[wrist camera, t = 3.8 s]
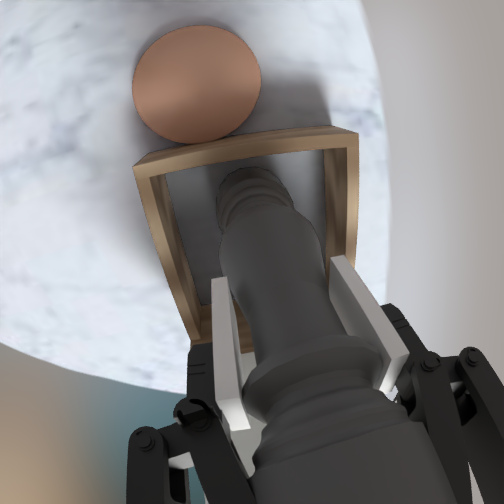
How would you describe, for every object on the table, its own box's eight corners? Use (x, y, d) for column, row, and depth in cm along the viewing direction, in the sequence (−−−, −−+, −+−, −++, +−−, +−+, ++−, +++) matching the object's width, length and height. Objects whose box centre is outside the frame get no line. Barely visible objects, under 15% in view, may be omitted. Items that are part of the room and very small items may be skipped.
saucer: (128, 45, 16) (124, 43, 15) (250, 21, 17) (252, 17, 16) (148, 153, 22) (144, 156, 21) (265, 131, 22) (268, 132, 21)
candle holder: (229, 239, 27) (278, 555, 5) (206, 180, 24) (210, 581, 2) (291, 219, 26) (433, 505, 5) (274, 157, 23) (505, 483, 2)
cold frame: (148, 152, 22) (94, 203, 11) (331, 125, 22) (417, 155, 12) (208, 350, 35) (211, 434, 24) (329, 327, 35) (362, 403, 25)
